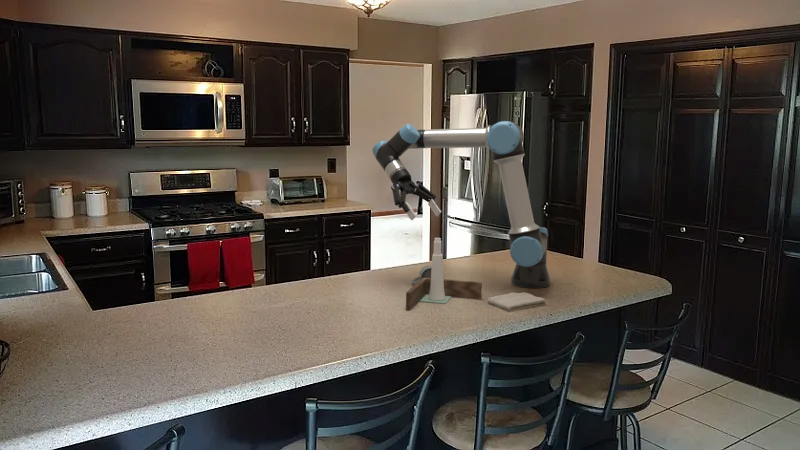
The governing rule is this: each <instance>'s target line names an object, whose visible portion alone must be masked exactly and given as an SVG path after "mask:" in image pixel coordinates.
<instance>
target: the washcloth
mask: <svg viewBox="0 0 800 450" xmlns="http://www.w3.org/2000/svg"><path fill="white" fill-rule="evenodd" d="M486 301H487V304H489V305H491V306H493V307H497V308H499V309H501V310H504V311H507V312H514V311H519V310H524V309H525V310H526V309H530V308H534V307H541V306H546V305H547V303H546V298H544V297H539V296H535V295H533V294H531V293H528V292H523V291H522V292H510V293H506V294H500V295H495V296H491V297H489V298H488V299H487V300H486Z"/></svg>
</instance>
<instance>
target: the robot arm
mask: <svg viewBox="0 0 800 450" xmlns="http://www.w3.org/2000/svg"><path fill="white" fill-rule="evenodd" d="M524 139H525V135H524V130H523V129H522V127H521V126H520V124H518V123H515V122H512V121H508V120H503V121H502V120H500V121H498V122H496V123H494V124H490V125H488V126H487V127H476V128H475V127H473V128H472V127H471V128H438V129H437V128H436V129H417V128H416V127H414V126H413V124H411V123H406V124H405V125H404V126H402V127H400V129H399V130H398V131H397V132H396V133H395V134H394V135H393V136H392V137H391V138H390V139H389V140H388V141H387V140H380V141H379V142H376V144H374V146H373V148H372V155H374V158H375V161H377V162H378V164H379V165H380V167H381V169H382V170H383V171H384V172H385V174H386V175H387V177H388V179H390V182H391V183H392V185H391V187H390V189H391V191H392V195H393V202H394V206H396V207H398V208H399V209H401V208H402V210H403V211H404V213H406V215H407V216H408V218H409V219H410V220H411V221H413V220H414V219H415V217H416V216H417V214H416V213H415V211H414V210H413V208H412V207H411V205H410V204H409V203H408V202H407V201H406V200H407V199H406V198H407V195H409V194H410V195H414V196H417V197H419V198H420V199H422V200H423V201H425V202H427V205H428V206H429V208H430V209H431V210H432V212H433V213H434V215H435V216H436V217H440V214H441V213H442V210H441V209H440V208H439V206H438V205H439V204H437V202H436V201H435V199H436V198H437V196H436V195H435V194H434V193H433V192H431V190H429V189H428V188H426V187H425V186H424V185H423V184H422V183H421V182H420V181H419V180H416V182H413V180H412V176H411V173H410V172H409V171H408V169H406V168H407V167H406V166H405V164H404V163H403V162H402V160H401V159H400V157H401V156H402V155H404V154H405V152H407V150H411V149H450V148H451V149H455V148H456V149H460V148H461V149H464V148H465V149H467V148H487V149H488V150H490V151H491V156H492V161H493V162H494V163H495V164H497V165H498V169H499V175H500V179H501V185H502V189H503V193H504V194H503V195H504V198H505V202H506V203H505V204H506V208H507V213H508V218H509V222H510V229H509V231H508V233H507V234H508V238H509V242H510V246H509V247H510V248H509V254H510V257H511V259H512V261H513V262H515V267H514V270H513V272H512V275H511V279H510V281H511V282H510V283H511V285H513V286H516V287H520V288H527V289H541V288H543V289H544V288H548V287H550V285H551V278H550V275H549V271H548V268H547V255H548V253H547V251H548V236H549V233H548V229H547V228H546V227H543V226H539V225H538V224H536V223H535V219H534V213H533V210H532V206H531V199H530V194H529V190H528V185H527V180H526V176H525V171H524V165H523V162H522V161H523V158H524V157H525V149H524V144H523V142H524Z"/></svg>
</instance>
